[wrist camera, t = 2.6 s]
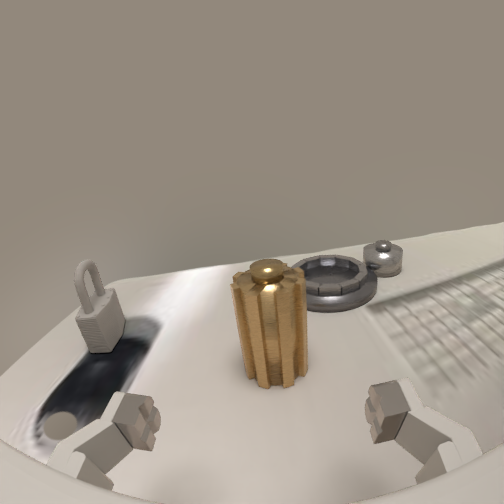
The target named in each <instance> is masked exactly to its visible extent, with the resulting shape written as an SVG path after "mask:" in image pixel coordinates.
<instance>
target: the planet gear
mask: <svg viewBox="0 0 504 504" xmlns="http://www.w3.org/2000/svg"><path fill="white" fill-rule="evenodd" d="M233 282H234V283H233V284H230V287H231V293H232V298H233V304H234V310H235V316H236V321H237V327H238V332H239V338H240V343H241V349H242V354H243V359H244V365H245V370H246V374H247V376H248V378H249V379H252V378H255V379H256V380H258V385H259V387H262V388H266V389H269V388H270V386H271V385H282V386H283V388H287V387H290V386H292V385H294V379H296V378H297V377H298V376H303V377H304V376H305V374H306V372H307V370H308V349H307V304H306V279H304V271H303V270H302V269H301V268H299V267H297V268H290V267H287V263H283V262H282V261H280V260H277V259H263V260H259V261H256V262H254V263H252V264H251V265H250V270H247V271H245V272H238V273H236V274H235V275H234V276H233Z"/></svg>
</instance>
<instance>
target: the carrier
mask: <svg viewBox="0 0 504 504" xmlns="http://www.w3.org/2000/svg"><path fill="white" fill-rule="evenodd" d="M297 267H299V268H301V269H302V270H303V271H304V279H306V304H307V310H308V311H314V312H341V311H347V310H351V309H354V308H357V307H359V306H362V305H364V304H365V303H367V302H368V301H370V300H371V299H372V298H373V297H374V295H375V293H376V290H377V276H376V274H375V273H374V271H373V270H371V269H370V268H369V267H367V266H365V264H364V263H362V262H360V261H358V260H356V259H355V258H352V257H346V256H341V255H319V256H314V257H310V258H306V259H303V260H301V261H299V262H298V263H296V264H295V265H293V266H292V267H291V268H297Z"/></svg>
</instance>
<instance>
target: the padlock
mask: <svg viewBox="0 0 504 504" xmlns="http://www.w3.org/2000/svg"><path fill="white" fill-rule="evenodd" d="M87 269H88V271H89V273H90V275H91V278H92V281H93V284H94V287H95V290H96V291H95V292H94V293H93V294H92V295H91V296H90V297H89V296H88V293H87V290H86V287H85V283H84V273H85V271H86V270H87ZM74 282H75V287H76V290H77V293H78V296H79V299H80V302H81V304H82V306H81V308H80V310H79V312H78V314H77V316H76V318H75V319H76V322H77V324H78V327H79V329H80V331H81V334H82V336H83V338H84V340H85V342H86V344H87V346H88V348H89V350H90V352H91V353H106V352H111V351H112V350H113V348H114V347H115V345H116V344H117V342H118V341H119V339H120V338H121V336H122V335H123V329H124V324H125V318H124V315H123V312H122V309H121V307H120V304H119V300H118V298H117V295H116V292H115V289H114V288H110V289H104V287H103V284H102V281H101V278H100V275H99V272H98V269H97V267H96V265H95V263H94V262H93V261H91V260H89V259H86V260H83V261H82V262H80V263H79V264H78V266H77V268H76V270H75V274H74Z"/></svg>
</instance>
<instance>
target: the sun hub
mask: <svg viewBox="0 0 504 504" xmlns="http://www.w3.org/2000/svg"><path fill="white" fill-rule="evenodd" d="M402 254H403V250H402V248H401V247H399V246H397V245H394V244H391V242H389V241H385V240H380V241H377V242H376V243H373V244H369V245H367V246H365V247H364V252H363V263H364V264H365V266H367V267H369V268H370V269H371V270H373V271H374V273H375V274H376V276H377V277H392V276H396V275H398V274H399V273H400V272H401V266H402Z"/></svg>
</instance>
